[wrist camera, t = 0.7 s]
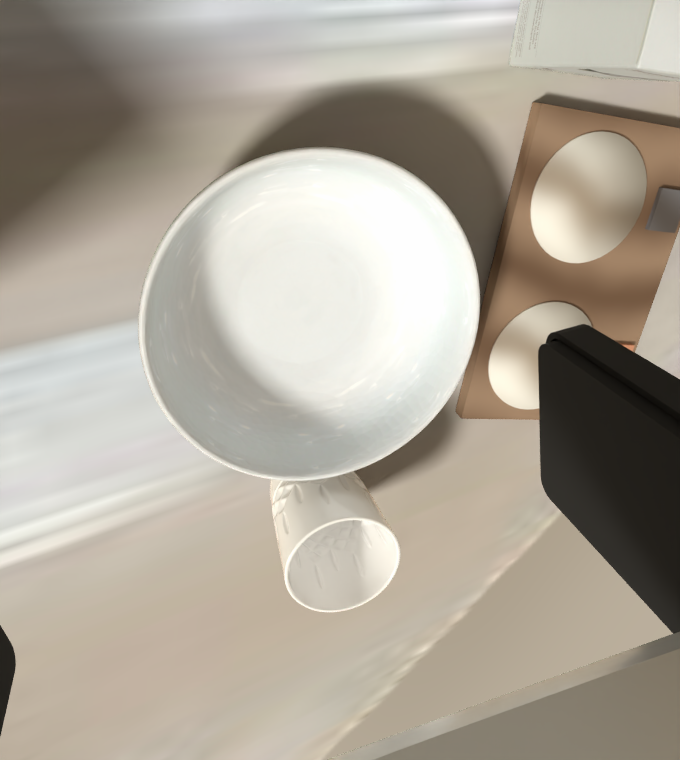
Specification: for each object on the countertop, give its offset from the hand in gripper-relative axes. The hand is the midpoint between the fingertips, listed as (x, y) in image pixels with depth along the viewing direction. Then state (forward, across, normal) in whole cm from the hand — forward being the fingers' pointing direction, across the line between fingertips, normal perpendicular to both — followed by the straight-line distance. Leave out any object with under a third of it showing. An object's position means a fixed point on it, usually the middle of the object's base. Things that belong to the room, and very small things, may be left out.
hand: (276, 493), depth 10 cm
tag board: (+33, -26, +13) cm, 45 cm away
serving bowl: (+34, -5, +9) cm, 35 cm away
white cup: (+34, -3, +25) cm, 42 cm away
